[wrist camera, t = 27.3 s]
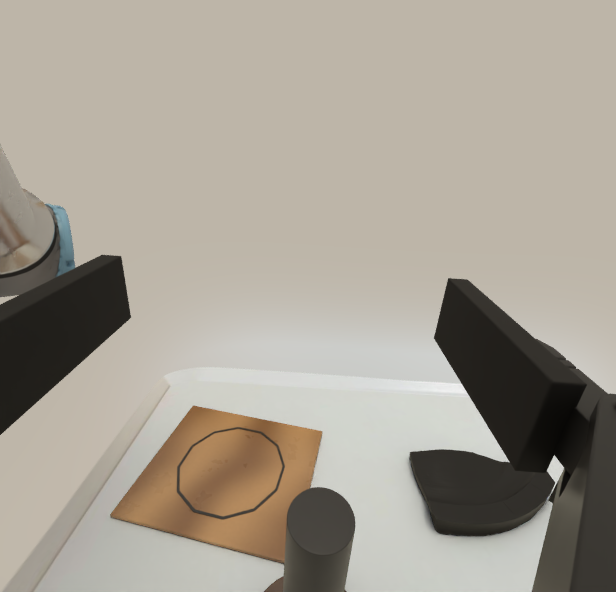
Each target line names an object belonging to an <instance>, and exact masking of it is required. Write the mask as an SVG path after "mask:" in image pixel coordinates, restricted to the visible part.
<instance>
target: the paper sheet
mask: <svg viewBox="0 0 616 592" xmlns="http://www.w3.org/2000/svg"><path fill="white" fill-rule="evenodd" d="M321 436H322V431H317V430H312V429H307V428H302V427H297V426H292V425H287V424H282V423H277V422H272V421H267V420H262V419H257V418H252V417H247V416H242V415H237V414H232V413H227V412H222V411H217V410H212V409H207V408H202V407H197V406H193V407H192V408H191V409H190V411H189V412H188V413H187V415H186V416H185V417H184V418H183V420H182V421H181V422H180V424H179V425H178V426H177V428H176V429H175V430H174V432H173V433H172V434H171V436H170V437H169V438H168V439H167V441H166V442H165V443H164V445H163V446H162V447H161V449H160V450H159V451H158V453H157V454H156V455H155V457H154V458H153V459H152V461H151V462H150V463H149V464H148V466H147V467H146V468H145V470H144V471H143V472H142V474H141V475H140V476H139V478H138V479H137V480H136V482H135V483H134V484H133V485H132V487H131V488H130V489H129V491H128V492H127V493H126V495H125V496H124V497H123V499H122V500H121V501H120V503H119V504H118V505H117V506H116V508H115V509H114V510H113V512H112V513H111V514H110V516H111V517H113V518H116V519H120V520H124V521H128V522H131V523H135V524H139V525H142V526H146V527H150V528H154V529H157V530H161V531H165V532H168V533H172V534H176V535H180V536H183V537H187V538H191V539H194V540H198V541H202V542H206V543H209V544H213V545H217V546H221V547H224V548H228V549H232V550H235V551H239V552H243V553H247V554H250V555H254V556H258V557H261V558H265V559H269V560H273V561H276V562H280V563H284V562H285V543H286V524H287V513H288V509H289V506H290V504H291V502H292V501H293V499H294V498H295V497H296V496H297V495H298V494H300V493H301V492H303V491H305V490H307V489H310V485H311V481H312V476H313V472H314V467H315V463H316V458H317V454H318V449H319V445H320V440H321Z"/></svg>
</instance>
